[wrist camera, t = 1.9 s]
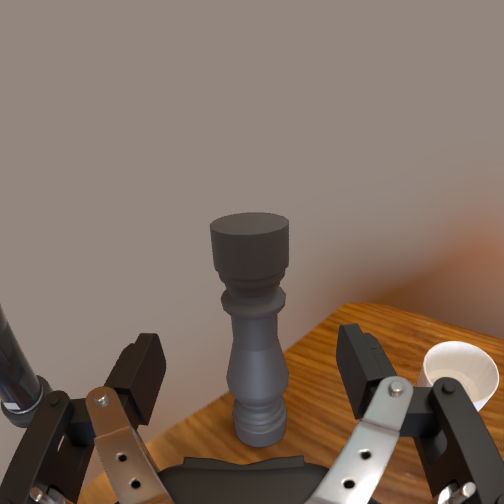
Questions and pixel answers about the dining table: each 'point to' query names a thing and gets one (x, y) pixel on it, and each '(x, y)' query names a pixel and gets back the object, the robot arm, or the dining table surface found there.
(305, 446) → the dining table surface
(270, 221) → the candle holder
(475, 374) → the cup
